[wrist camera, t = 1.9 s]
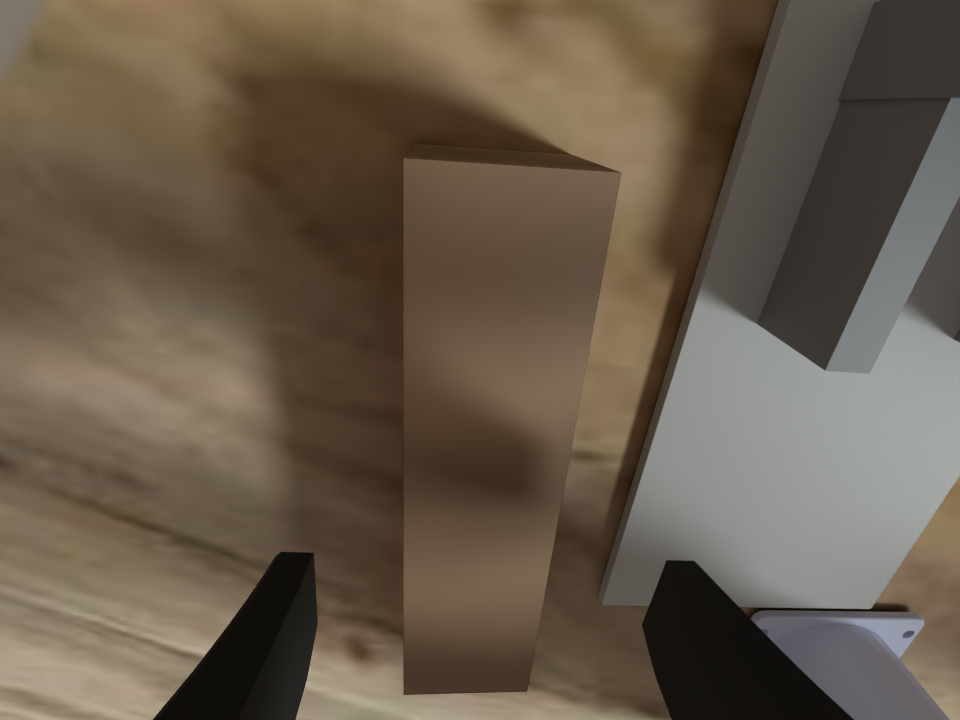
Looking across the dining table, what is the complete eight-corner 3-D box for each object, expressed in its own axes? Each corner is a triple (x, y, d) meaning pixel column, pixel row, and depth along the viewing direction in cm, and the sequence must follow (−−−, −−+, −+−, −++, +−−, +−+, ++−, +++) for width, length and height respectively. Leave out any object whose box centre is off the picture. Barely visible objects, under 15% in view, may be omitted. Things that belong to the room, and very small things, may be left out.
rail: (510, 576, 20) (527, 691, 16) (411, 577, 20) (403, 695, 16) (567, 153, 13) (621, 172, 9) (416, 142, 13) (403, 157, 9)
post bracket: (862, 598, 22) (1012, 773, 16) (598, 594, 21) (658, 783, 15) (1223, 37, 13) (1872, -22, 7) (788, -32, 12) (1138, -175, 6)
